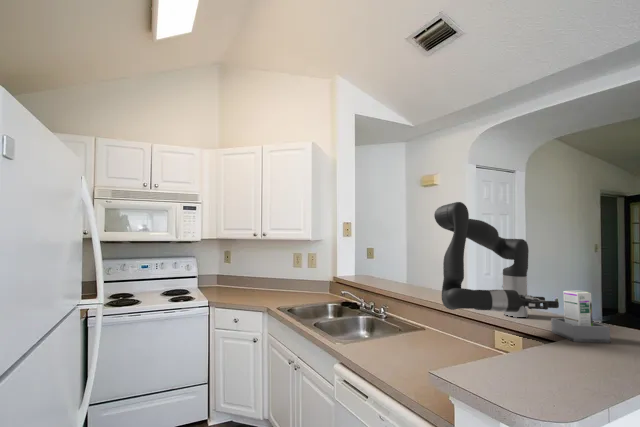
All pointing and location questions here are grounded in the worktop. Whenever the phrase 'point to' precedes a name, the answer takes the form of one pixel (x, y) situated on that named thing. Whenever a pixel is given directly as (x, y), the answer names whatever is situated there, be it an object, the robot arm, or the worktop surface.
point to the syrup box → (578, 308)
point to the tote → (581, 331)
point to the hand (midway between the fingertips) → (551, 302)
